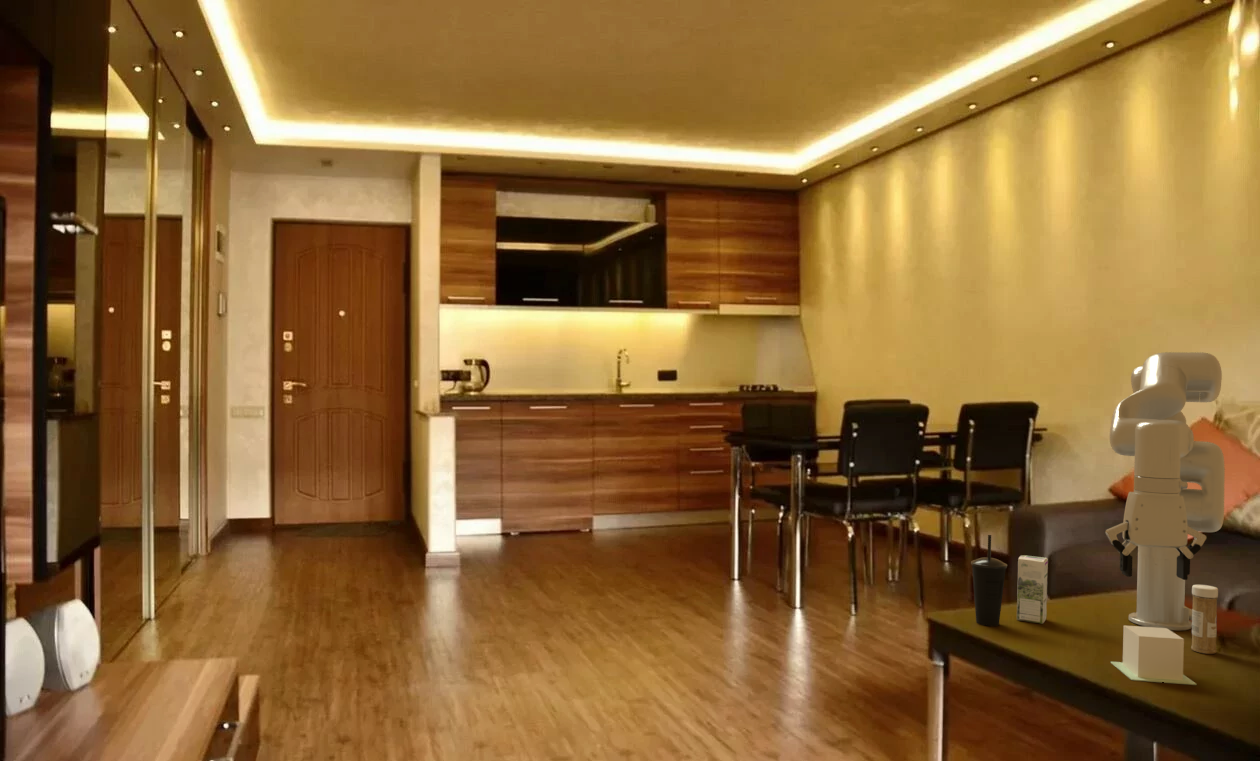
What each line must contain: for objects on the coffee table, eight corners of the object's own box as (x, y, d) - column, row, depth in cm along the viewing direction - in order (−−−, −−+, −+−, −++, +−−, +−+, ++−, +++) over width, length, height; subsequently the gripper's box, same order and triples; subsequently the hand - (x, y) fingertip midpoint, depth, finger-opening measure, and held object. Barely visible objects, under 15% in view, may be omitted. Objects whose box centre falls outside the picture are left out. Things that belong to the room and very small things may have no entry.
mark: (1171, 666, 177) (1171, 665, 177) (1196, 685, 166) (1196, 683, 166) (1110, 662, 179) (1110, 661, 179) (1131, 680, 168) (1131, 679, 168)
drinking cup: (999, 619, 210) (1001, 533, 210) (1010, 628, 203) (1012, 538, 203) (965, 618, 211) (967, 531, 211) (974, 626, 203) (977, 537, 203)
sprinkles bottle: (1219, 655, 186) (1221, 589, 186) (1194, 653, 187) (1195, 587, 187) (1212, 649, 190) (1214, 585, 190) (1187, 647, 191) (1189, 583, 191)
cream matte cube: (1165, 668, 176) (1166, 628, 176) (1182, 681, 168) (1183, 639, 168) (1122, 665, 177) (1123, 625, 177) (1137, 678, 169) (1138, 636, 169)
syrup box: (1046, 619, 212) (1048, 557, 212) (1042, 624, 207) (1044, 560, 207) (1020, 615, 215) (1022, 553, 215) (1016, 620, 210) (1017, 557, 210)
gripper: (1197, 486, 175) (1195, 575, 175) (1100, 482, 178) (1098, 570, 178) (1215, 490, 168) (1213, 584, 167) (1114, 486, 170) (1112, 578, 170)
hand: (1154, 576), depth 173 cm, fingers open, 9 cm apart
